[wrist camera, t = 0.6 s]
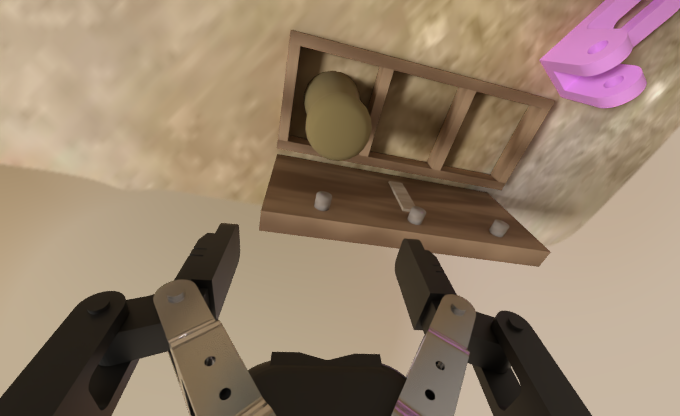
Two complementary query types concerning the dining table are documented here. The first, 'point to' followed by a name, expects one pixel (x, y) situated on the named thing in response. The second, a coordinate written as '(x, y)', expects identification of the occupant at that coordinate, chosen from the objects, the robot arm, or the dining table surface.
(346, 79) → the olive bulbous cylinder
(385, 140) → the dining table surface
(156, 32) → the dining table surface
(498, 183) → the wooden peg rack
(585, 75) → the bracket
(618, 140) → the dining table surface
